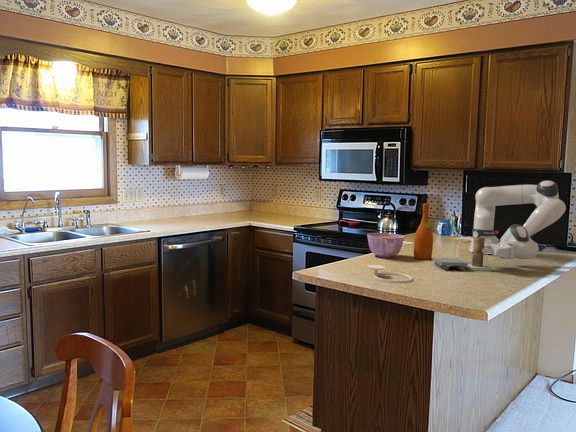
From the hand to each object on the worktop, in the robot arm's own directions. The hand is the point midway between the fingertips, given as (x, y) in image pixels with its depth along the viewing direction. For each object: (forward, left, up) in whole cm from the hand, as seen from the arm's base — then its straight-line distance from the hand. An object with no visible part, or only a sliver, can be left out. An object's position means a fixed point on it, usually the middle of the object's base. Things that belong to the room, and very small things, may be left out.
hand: (477, 248), depth 243 cm
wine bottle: (+10, -29, -10) cm, 33 cm away
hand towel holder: (+56, +6, -11) cm, 57 cm away
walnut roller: (0, 0, -9) cm, 9 cm away
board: (0, 0, -10) cm, 10 cm away
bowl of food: (+28, -39, -10) cm, 49 cm away
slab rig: (+13, -5, -10) cm, 17 cm away
